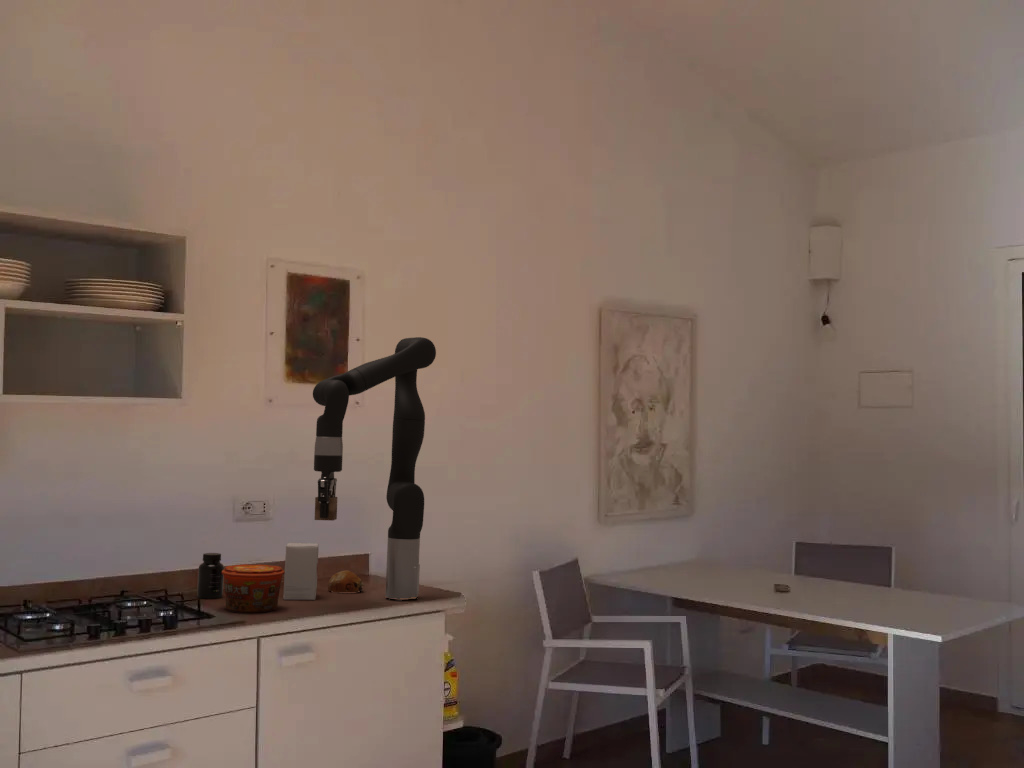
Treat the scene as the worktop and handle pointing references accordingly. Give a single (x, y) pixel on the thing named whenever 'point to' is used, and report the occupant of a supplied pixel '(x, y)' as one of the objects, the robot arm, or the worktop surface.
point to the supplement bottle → (210, 577)
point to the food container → (252, 588)
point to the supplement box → (301, 571)
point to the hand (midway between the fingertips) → (326, 516)
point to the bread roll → (345, 582)
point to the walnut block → (332, 509)
